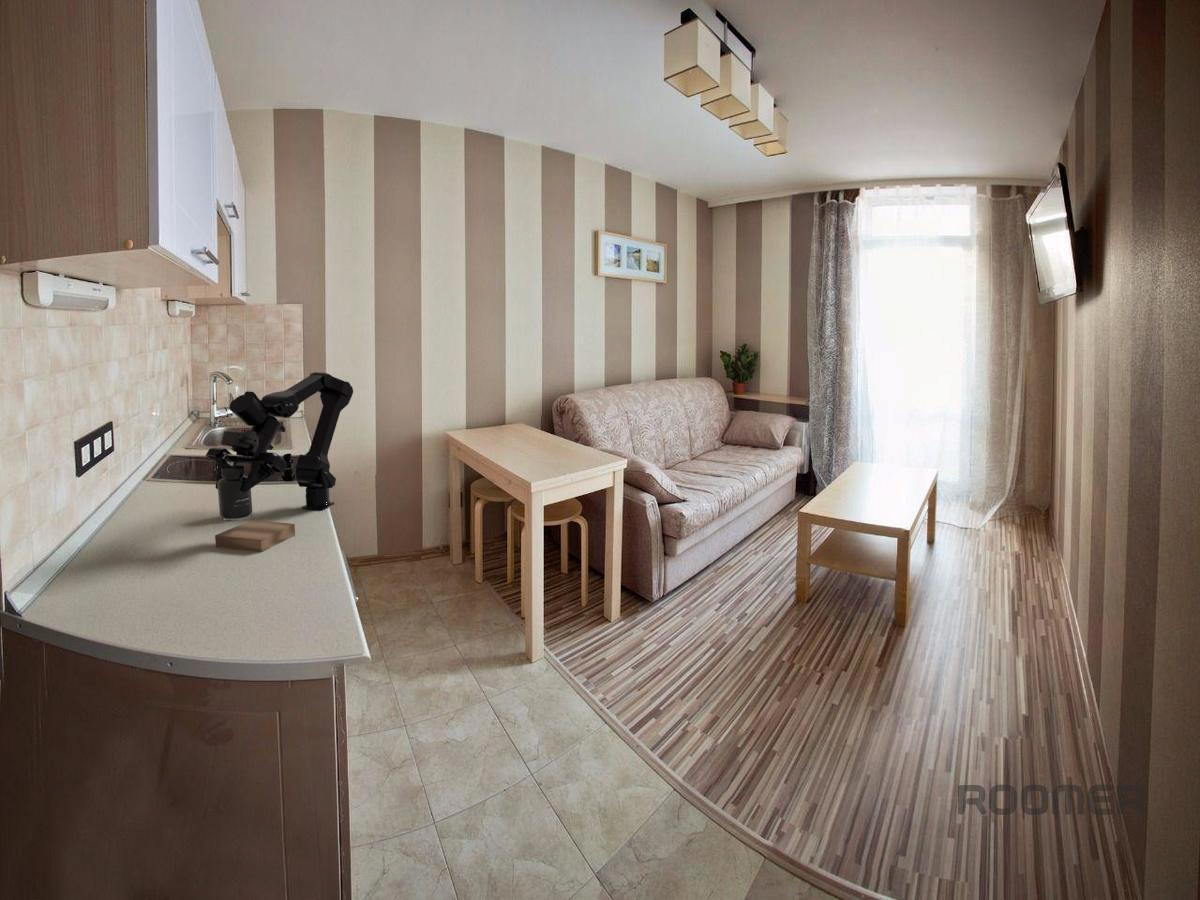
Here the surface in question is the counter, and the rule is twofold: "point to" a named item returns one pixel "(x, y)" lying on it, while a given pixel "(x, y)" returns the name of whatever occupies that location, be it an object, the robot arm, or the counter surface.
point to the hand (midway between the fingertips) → (230, 490)
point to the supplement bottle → (233, 493)
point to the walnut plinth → (255, 535)
